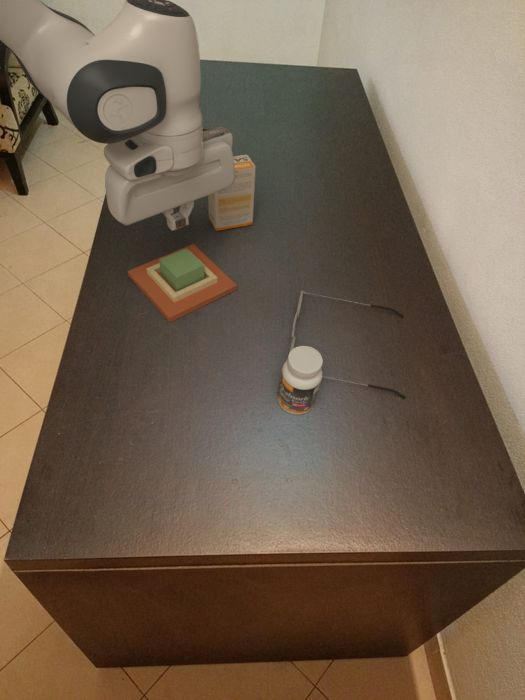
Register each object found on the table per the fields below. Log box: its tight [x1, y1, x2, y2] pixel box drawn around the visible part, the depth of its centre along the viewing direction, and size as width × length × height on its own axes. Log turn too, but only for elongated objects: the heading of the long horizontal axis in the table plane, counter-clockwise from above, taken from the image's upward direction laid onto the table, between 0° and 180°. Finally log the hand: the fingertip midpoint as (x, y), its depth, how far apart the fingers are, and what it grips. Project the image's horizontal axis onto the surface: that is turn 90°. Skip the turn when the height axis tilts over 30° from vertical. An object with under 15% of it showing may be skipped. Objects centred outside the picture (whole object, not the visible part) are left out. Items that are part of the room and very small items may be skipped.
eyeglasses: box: [289, 290, 407, 400], centre depth 76 cm, size 18×19×4 cm
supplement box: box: [207, 154, 257, 232], centre depth 92 cm, size 8×5×13 cm, turn 111°
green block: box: [159, 248, 205, 292], centre depth 82 cm, size 6×6×4 cm
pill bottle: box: [276, 345, 324, 416], centre depth 66 cm, size 6×6×10 cm
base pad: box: [127, 243, 238, 323], centre depth 83 cm, size 14×14×2 cm
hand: (178, 226), depth 75 cm, fingers closed
